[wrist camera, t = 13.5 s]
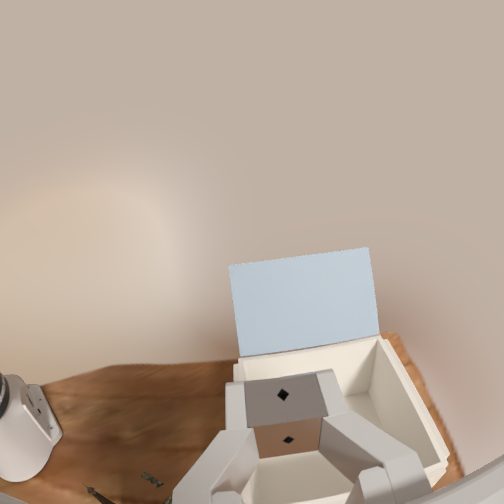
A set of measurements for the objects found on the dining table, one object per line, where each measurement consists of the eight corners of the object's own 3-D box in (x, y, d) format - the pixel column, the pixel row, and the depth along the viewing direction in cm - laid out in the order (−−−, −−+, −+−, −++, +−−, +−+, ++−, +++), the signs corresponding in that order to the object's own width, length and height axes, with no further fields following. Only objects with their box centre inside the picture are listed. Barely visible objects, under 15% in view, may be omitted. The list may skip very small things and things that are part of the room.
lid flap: (368, 247, 38) (366, 247, 38) (228, 265, 38) (229, 266, 38) (379, 334, 36) (377, 333, 37) (240, 356, 36) (240, 355, 37)
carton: (420, 505, 22) (455, 466, 18) (252, 542, 22) (237, 520, 18) (373, 389, 41) (384, 334, 37) (245, 411, 41) (233, 358, 37)
